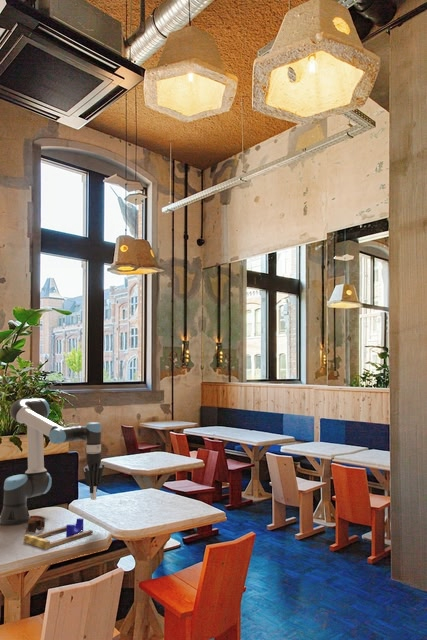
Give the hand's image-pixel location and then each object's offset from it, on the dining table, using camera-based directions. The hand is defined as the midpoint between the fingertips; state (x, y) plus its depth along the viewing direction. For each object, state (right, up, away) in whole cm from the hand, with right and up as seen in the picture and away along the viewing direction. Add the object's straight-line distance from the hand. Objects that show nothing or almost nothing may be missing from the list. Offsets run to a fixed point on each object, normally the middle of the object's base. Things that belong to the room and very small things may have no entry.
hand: (93, 499), depth 264 cm
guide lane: (-12, -12, -17) cm, 24 cm away
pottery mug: (-27, -14, -6) cm, 31 cm away
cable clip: (-7, -13, -12) cm, 19 cm away
